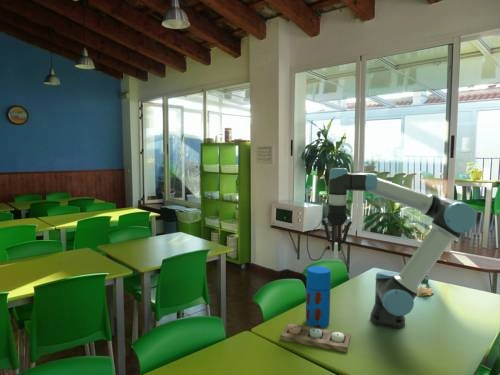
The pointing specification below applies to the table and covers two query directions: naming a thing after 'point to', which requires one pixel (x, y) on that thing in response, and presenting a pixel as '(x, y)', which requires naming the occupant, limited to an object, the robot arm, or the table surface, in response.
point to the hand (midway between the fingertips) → (335, 258)
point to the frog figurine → (424, 288)
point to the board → (311, 341)
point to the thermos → (318, 296)
